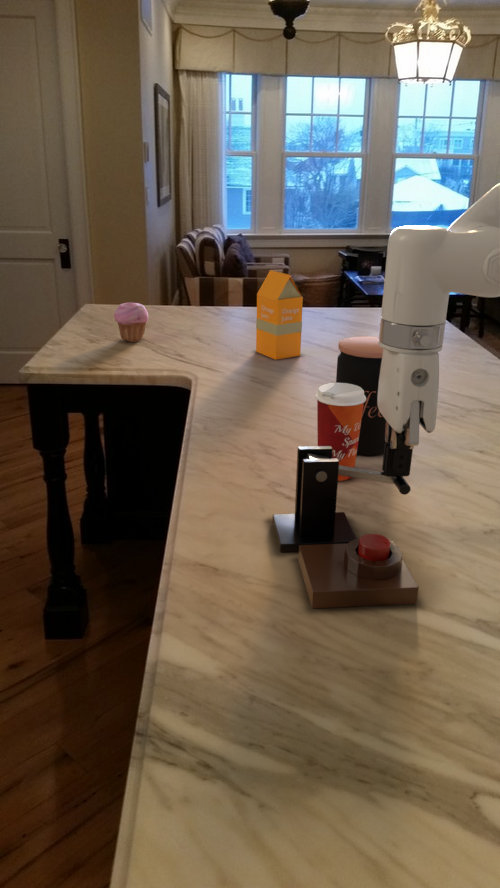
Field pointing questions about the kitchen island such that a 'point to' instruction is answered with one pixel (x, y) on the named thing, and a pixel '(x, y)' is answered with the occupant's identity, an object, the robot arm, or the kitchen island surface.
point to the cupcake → (131, 321)
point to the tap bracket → (314, 505)
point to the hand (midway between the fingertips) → (395, 473)
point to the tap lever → (369, 475)
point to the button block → (355, 577)
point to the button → (374, 547)
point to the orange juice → (279, 317)
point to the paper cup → (340, 420)
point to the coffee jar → (364, 388)
